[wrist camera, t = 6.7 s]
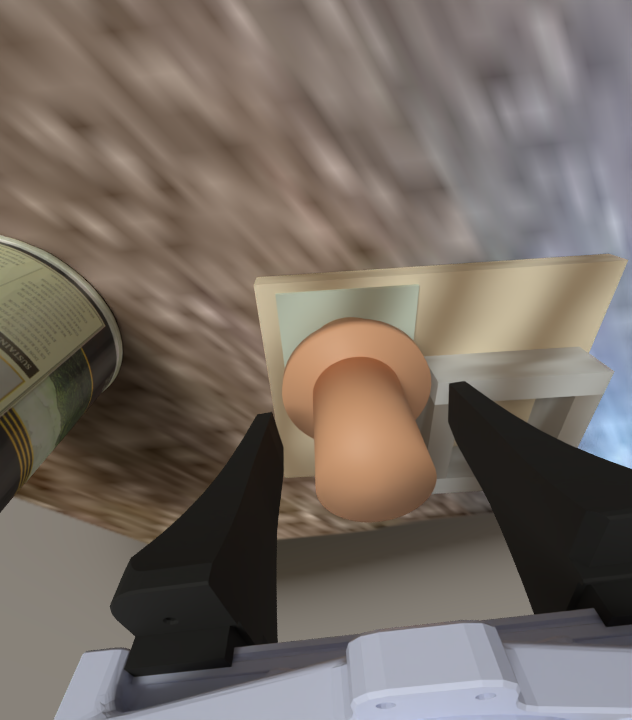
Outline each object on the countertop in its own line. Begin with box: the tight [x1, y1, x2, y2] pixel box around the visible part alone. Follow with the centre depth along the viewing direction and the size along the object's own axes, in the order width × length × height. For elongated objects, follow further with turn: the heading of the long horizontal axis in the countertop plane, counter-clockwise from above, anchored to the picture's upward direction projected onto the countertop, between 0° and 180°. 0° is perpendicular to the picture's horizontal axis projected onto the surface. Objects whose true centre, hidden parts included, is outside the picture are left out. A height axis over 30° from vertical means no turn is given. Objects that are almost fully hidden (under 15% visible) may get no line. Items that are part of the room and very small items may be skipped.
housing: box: [254, 254, 628, 494], centre depth 19 cm, size 18×14×4 cm
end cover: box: [282, 317, 437, 522], centre depth 15 cm, size 7×7×8 cm
